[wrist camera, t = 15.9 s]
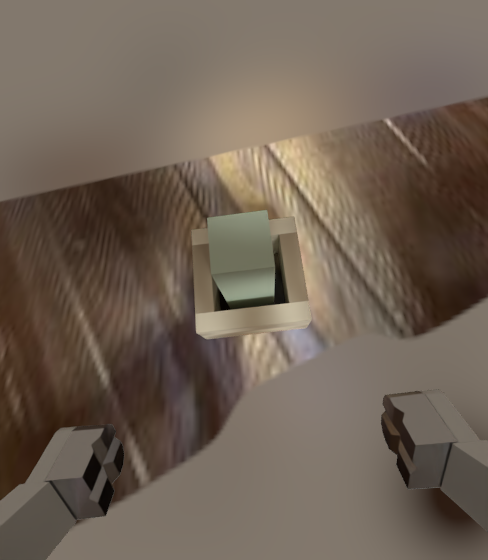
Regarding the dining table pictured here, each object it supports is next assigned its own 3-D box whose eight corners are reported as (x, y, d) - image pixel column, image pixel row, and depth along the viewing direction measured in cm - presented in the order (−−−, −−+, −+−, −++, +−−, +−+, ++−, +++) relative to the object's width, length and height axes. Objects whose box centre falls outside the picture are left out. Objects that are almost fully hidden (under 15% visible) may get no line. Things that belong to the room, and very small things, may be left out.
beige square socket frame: (206, 339, 28) (196, 332, 24) (201, 248, 31) (191, 229, 27) (306, 328, 28) (311, 319, 24) (291, 236, 31) (294, 216, 27)
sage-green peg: (231, 309, 29) (210, 274, 19) (227, 269, 30) (207, 217, 21) (274, 304, 29) (275, 266, 19) (268, 263, 30) (267, 209, 20)
